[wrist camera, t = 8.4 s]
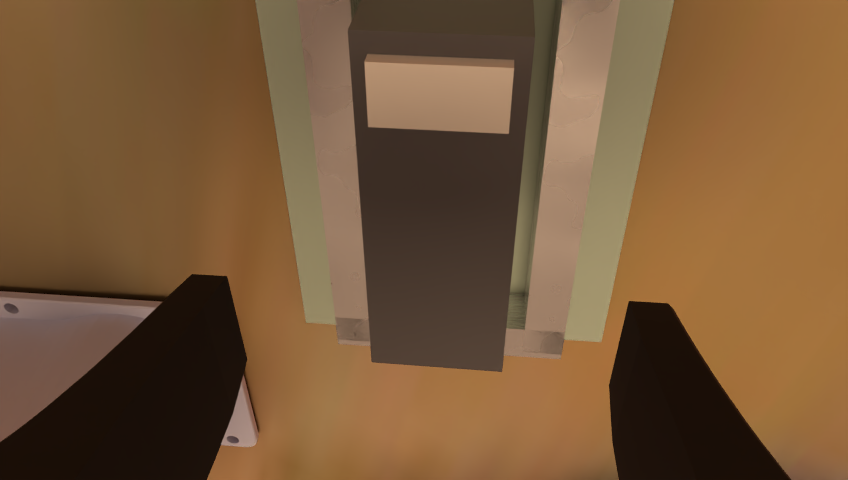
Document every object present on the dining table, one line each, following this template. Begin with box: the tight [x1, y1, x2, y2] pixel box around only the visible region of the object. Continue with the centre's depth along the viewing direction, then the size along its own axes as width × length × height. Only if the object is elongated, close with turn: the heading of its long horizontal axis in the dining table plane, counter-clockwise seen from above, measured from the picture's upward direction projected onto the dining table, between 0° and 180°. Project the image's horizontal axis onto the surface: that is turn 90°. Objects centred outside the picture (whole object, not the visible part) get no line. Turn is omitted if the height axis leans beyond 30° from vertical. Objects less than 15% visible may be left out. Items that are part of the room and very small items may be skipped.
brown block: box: [348, 0, 535, 372], centre depth 16 cm, size 3×8×6 cm, turn 0°
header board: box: [255, 0, 674, 359], centre depth 18 cm, size 10×18×2 cm, turn 1°
